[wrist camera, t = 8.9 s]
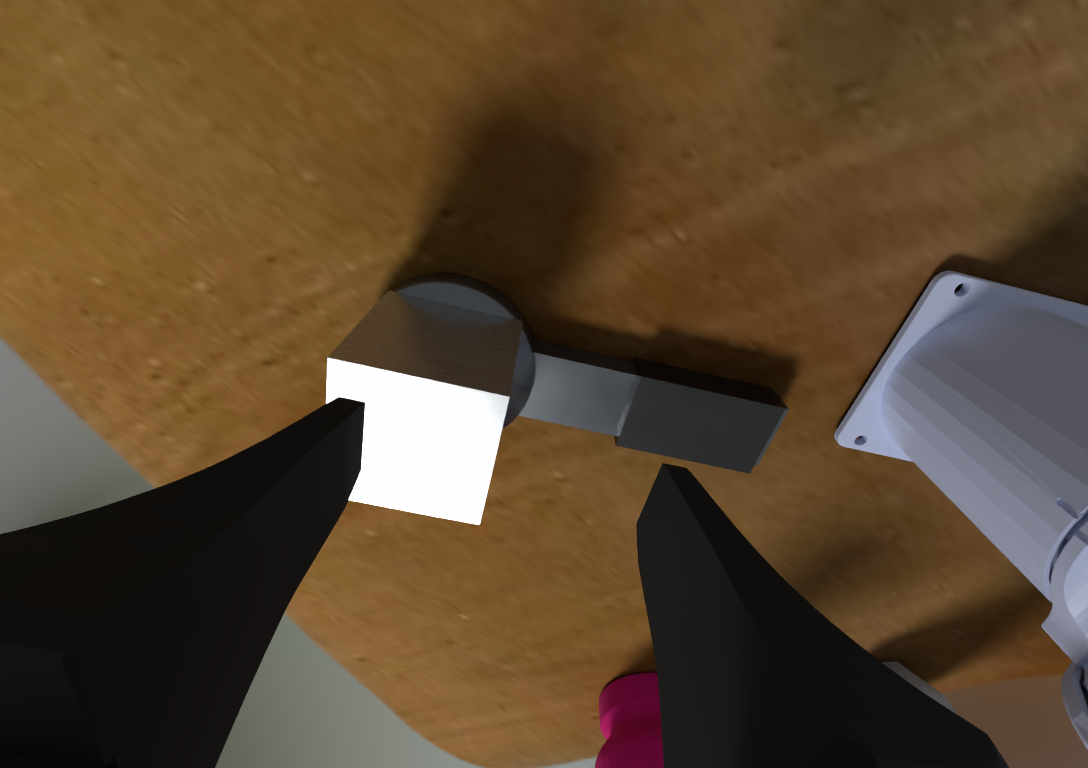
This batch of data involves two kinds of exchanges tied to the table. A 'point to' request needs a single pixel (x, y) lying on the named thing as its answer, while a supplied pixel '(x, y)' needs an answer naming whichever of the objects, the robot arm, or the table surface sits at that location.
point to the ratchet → (623, 391)
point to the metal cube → (427, 402)
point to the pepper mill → (631, 723)
